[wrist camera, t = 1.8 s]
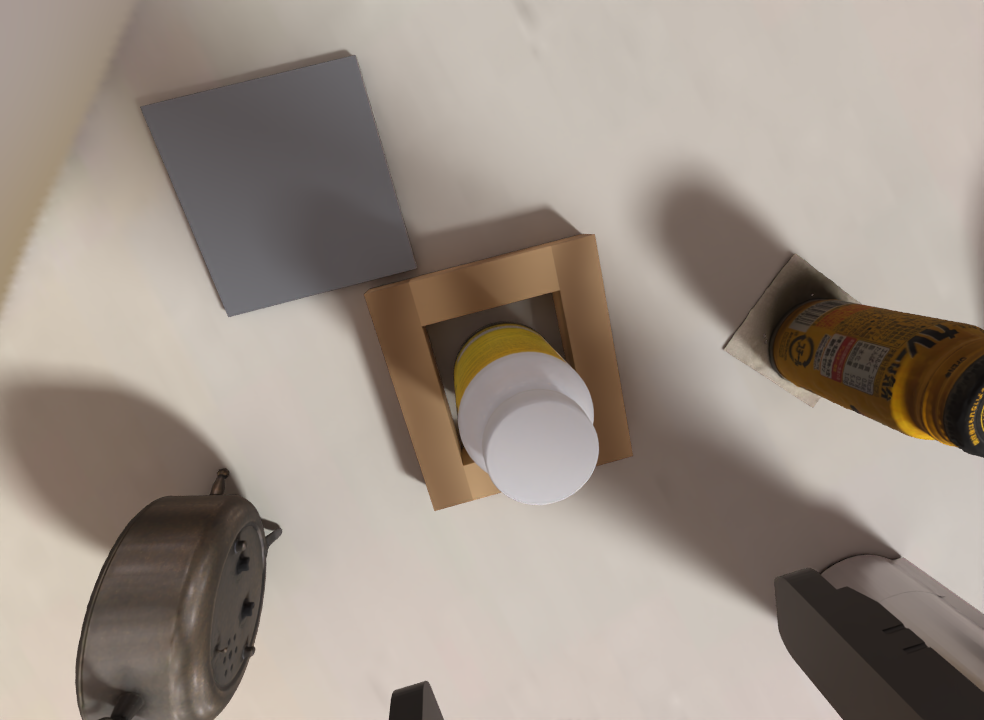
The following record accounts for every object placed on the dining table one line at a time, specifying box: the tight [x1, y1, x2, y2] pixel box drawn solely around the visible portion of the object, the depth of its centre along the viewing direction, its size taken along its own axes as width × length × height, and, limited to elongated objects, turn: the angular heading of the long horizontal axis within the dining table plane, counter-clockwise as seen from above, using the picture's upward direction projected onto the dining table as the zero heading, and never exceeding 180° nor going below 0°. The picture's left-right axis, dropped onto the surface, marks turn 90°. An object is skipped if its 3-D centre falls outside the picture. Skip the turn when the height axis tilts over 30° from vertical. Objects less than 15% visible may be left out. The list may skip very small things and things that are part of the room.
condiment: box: [724, 254, 984, 457], centre depth 26 cm, size 7×8×12 cm
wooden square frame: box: [364, 234, 633, 511], centre depth 28 cm, size 13×14×2 cm
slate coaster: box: [140, 55, 417, 317], centre depth 25 cm, size 11×11×1 cm
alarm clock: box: [75, 469, 282, 720], centre depth 23 cm, size 11×5×16 cm, turn 176°
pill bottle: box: [454, 322, 599, 505], centre depth 24 cm, size 6×6×12 cm
